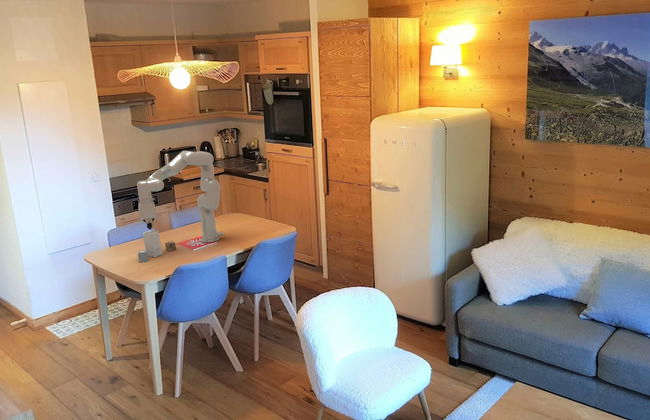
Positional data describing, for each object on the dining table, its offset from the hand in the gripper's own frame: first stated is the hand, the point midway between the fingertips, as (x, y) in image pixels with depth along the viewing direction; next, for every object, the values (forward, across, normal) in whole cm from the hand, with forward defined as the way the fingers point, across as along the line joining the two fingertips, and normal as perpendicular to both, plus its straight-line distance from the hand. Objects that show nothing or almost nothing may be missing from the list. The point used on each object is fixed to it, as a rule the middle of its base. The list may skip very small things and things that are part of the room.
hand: (150, 229), depth 350 cm
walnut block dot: (+18, -11, -5) cm, 21 cm away
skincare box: (+18, 0, 0) cm, 18 cm away
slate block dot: (+18, +7, +7) cm, 20 cm away
